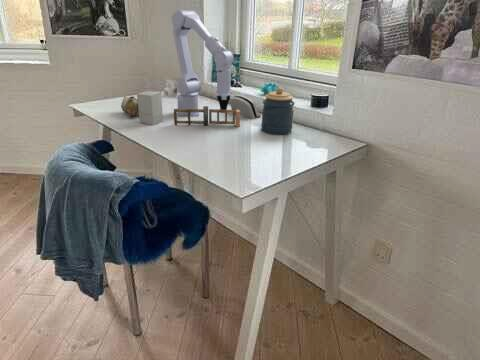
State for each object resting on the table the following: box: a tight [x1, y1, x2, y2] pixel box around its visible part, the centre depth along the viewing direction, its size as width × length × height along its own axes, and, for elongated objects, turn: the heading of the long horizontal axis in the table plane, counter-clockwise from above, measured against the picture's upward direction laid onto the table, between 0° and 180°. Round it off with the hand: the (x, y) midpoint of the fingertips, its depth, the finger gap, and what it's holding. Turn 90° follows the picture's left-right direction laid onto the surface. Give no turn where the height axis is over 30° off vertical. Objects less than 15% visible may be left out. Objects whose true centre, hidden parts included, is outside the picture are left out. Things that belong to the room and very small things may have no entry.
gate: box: [208, 108, 236, 125], centre depth 151 cm, size 11×1×6 cm, turn 93°
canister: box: [260, 87, 296, 136], centre depth 145 cm, size 13×13×18 cm
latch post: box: [235, 110, 241, 128], centre depth 152 cm, size 2×4×6 cm, turn 4°
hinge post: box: [202, 105, 209, 127], centre depth 150 cm, size 2×2×8 cm
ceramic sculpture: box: [120, 95, 139, 118], centre depth 162 cm, size 11×9×15 cm
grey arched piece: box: [229, 94, 262, 120], centre depth 168 cm, size 17×5×10 cm, turn 38°
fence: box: [173, 108, 204, 126], centre depth 150 cm, size 12×1×7 cm, turn 94°
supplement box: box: [136, 90, 164, 126], centre depth 151 cm, size 7×7×13 cm
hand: (223, 112), depth 156 cm, fingers closed
